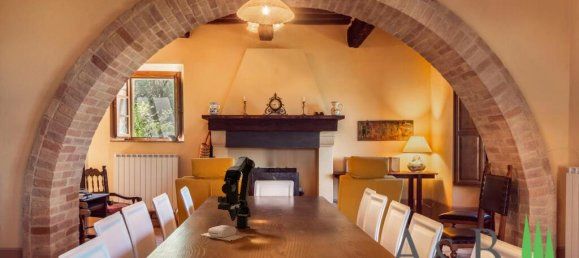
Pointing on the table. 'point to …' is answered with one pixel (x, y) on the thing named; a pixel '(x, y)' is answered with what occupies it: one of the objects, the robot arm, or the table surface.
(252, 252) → the table surface
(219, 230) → the photo printer
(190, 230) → the table surface
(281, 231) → the table surface
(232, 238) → the beige flat sheet
